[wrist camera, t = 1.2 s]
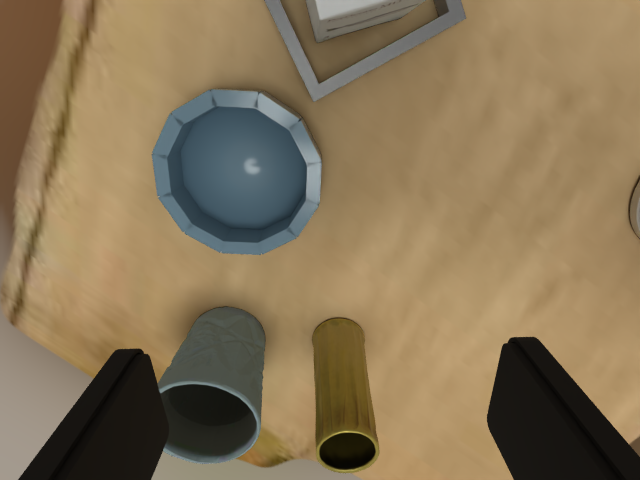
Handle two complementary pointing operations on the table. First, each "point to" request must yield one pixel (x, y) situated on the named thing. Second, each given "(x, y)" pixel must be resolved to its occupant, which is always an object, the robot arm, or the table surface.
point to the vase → (343, 398)
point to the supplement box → (353, 15)
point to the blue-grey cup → (215, 388)
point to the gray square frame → (448, 14)
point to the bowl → (238, 171)
